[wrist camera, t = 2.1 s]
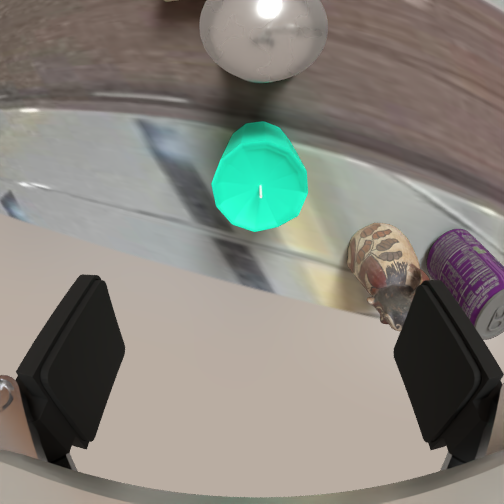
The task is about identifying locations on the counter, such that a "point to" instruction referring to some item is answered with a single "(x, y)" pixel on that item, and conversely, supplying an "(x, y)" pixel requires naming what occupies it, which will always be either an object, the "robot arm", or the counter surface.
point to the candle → (260, 178)
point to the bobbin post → (263, 36)
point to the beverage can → (470, 279)
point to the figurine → (386, 270)
